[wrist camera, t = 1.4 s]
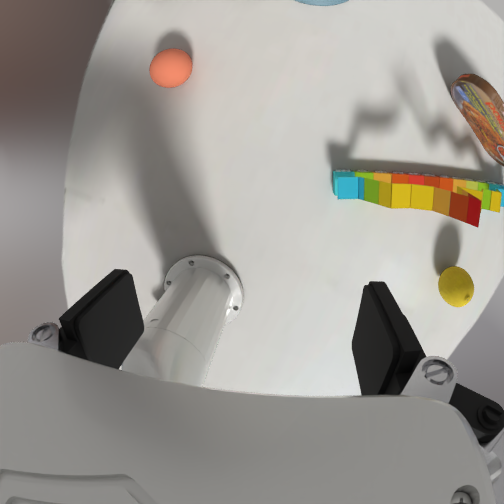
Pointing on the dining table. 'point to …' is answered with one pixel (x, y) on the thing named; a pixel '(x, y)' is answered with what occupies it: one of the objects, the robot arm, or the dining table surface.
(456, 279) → the lemon
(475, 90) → the tin
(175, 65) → the ball
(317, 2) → the disc
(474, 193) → the chart
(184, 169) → the dining table surface
